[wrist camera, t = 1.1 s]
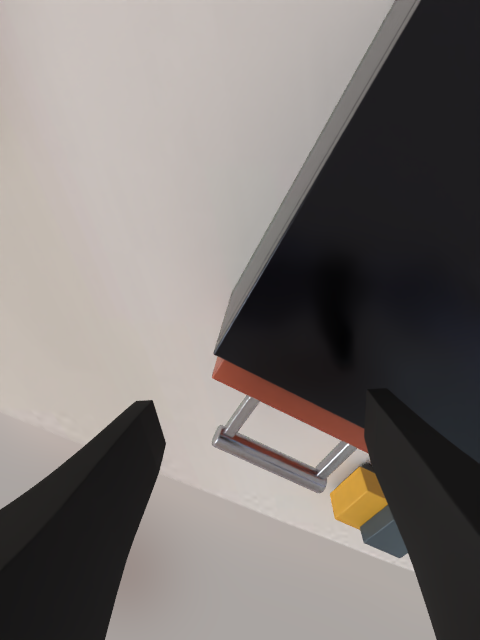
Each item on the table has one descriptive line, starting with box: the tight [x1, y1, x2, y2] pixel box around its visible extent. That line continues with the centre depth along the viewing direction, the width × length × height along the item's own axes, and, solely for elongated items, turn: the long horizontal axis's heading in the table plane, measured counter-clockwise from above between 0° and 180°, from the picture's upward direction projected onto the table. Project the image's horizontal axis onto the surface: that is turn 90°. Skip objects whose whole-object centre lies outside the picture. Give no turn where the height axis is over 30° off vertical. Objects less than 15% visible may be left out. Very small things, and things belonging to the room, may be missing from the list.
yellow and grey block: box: [330, 464, 408, 558], centre depth 22 cm, size 6×4×4 cm, turn 62°
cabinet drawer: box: [212, 357, 368, 493], centre depth 15 cm, size 19×11×5 cm, turn 152°
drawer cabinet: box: [214, 0, 480, 464], centre depth 13 cm, size 15×13×7 cm
